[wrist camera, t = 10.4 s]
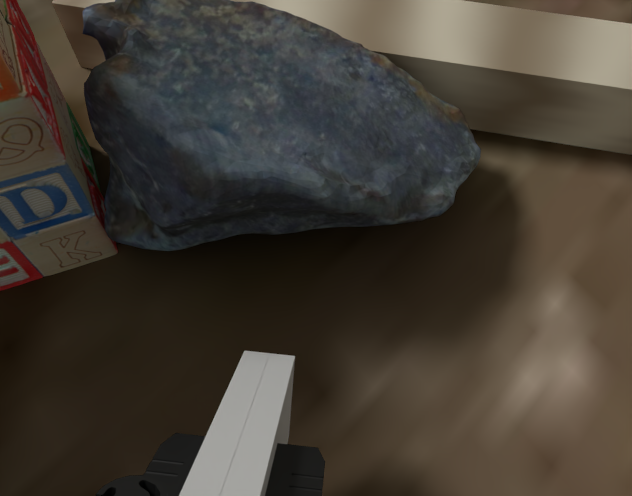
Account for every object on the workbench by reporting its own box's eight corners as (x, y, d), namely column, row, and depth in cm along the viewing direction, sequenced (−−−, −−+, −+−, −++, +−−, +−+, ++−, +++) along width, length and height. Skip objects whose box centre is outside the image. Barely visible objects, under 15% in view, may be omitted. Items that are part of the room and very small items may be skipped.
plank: (83, 71, 29) (51, 2, 25) (113, 19, 31) (87, -52, 27) (662, 165, 26) (715, 102, 23) (655, 100, 28) (703, 34, 25)
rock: (109, 102, 28) (18, 261, 21) (131, -66, 22) (13, 83, 15) (398, 206, 31) (398, 372, 24) (486, 85, 25) (516, 261, 18)
